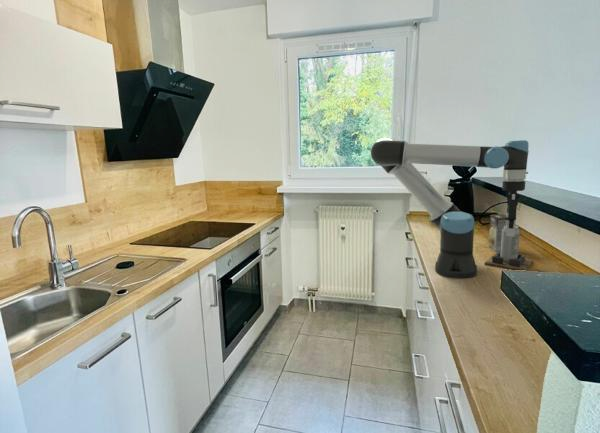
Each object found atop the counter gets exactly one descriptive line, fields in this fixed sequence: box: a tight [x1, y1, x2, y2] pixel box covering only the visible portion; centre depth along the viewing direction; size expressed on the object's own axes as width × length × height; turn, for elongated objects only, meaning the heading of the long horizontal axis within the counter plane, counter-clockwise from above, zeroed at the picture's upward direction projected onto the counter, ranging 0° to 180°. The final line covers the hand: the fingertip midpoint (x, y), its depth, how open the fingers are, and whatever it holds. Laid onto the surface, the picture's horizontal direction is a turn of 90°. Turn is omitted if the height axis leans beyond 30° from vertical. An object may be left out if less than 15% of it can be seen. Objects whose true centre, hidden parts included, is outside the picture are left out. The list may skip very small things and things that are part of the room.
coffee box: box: [488, 214, 507, 253], centre depth 149 cm, size 9×6×16 cm
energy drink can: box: [500, 225, 521, 263], centre depth 129 cm, size 6×6×15 cm
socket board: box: [483, 251, 534, 271], centre depth 131 cm, size 14×14×4 cm
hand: (509, 232), depth 129 cm, fingers open, 13 cm apart
